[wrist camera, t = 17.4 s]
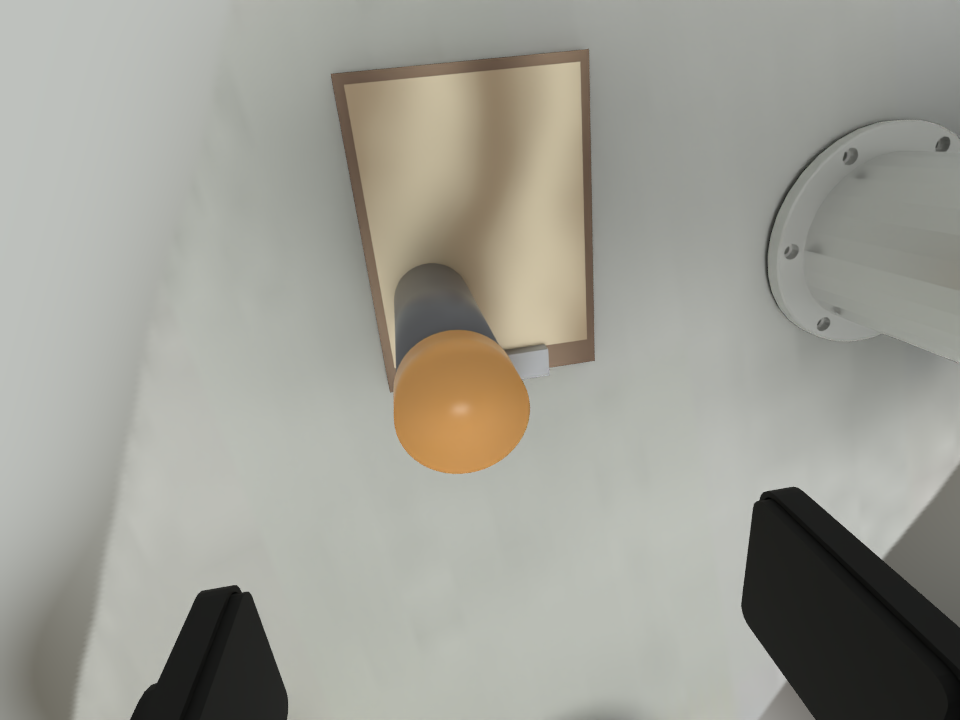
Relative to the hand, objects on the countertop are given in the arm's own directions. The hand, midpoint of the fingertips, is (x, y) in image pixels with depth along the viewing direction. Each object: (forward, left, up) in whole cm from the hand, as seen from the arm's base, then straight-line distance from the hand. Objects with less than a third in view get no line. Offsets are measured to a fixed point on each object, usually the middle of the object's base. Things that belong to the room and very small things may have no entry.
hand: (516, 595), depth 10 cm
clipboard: (-3, -3, -21) cm, 22 cm away
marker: (0, 0, -20) cm, 20 cm away
